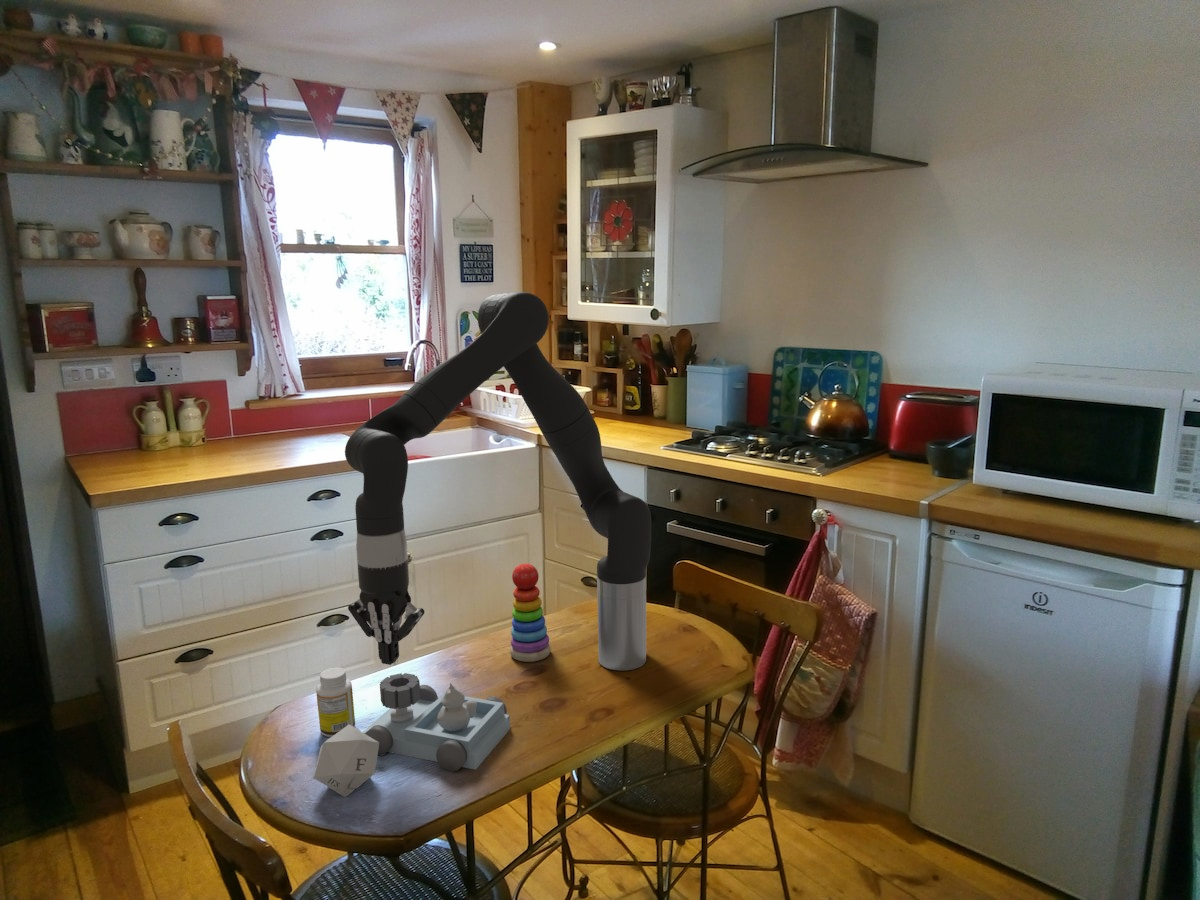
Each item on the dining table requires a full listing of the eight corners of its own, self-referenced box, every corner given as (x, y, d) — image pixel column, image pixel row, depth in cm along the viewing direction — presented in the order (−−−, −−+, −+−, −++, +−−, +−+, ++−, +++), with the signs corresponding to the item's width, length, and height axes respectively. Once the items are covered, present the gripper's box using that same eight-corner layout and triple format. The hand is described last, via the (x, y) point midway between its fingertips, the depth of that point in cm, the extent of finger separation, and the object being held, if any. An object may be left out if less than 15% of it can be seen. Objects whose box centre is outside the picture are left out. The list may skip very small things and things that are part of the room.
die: (308, 809, 116) (337, 768, 112) (301, 752, 122) (329, 712, 118) (365, 806, 121) (394, 767, 117) (355, 752, 127) (383, 713, 123)
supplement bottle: (336, 718, 138) (331, 662, 136) (362, 724, 136) (357, 668, 134) (312, 735, 133) (307, 677, 131) (339, 742, 131) (334, 683, 129)
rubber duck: (432, 725, 131) (429, 679, 129) (471, 713, 134) (469, 668, 133) (444, 741, 126) (441, 693, 125) (484, 728, 130) (482, 682, 128)
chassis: (409, 705, 142) (407, 672, 141) (514, 723, 136) (512, 689, 134) (356, 752, 128) (353, 716, 127) (470, 775, 122) (468, 738, 120)
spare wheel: (395, 687, 137) (394, 671, 136) (426, 693, 135) (425, 676, 134) (374, 705, 131) (372, 688, 131) (406, 711, 129) (405, 693, 129)
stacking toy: (532, 642, 166) (529, 554, 162) (559, 654, 161) (556, 563, 157) (501, 655, 161) (498, 564, 157) (528, 667, 155) (525, 574, 151)
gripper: (432, 554, 127) (438, 658, 131) (360, 546, 131) (367, 646, 135) (406, 570, 120) (412, 679, 124) (331, 561, 125) (339, 666, 128)
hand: (389, 662), depth 129 cm, fingers closed
